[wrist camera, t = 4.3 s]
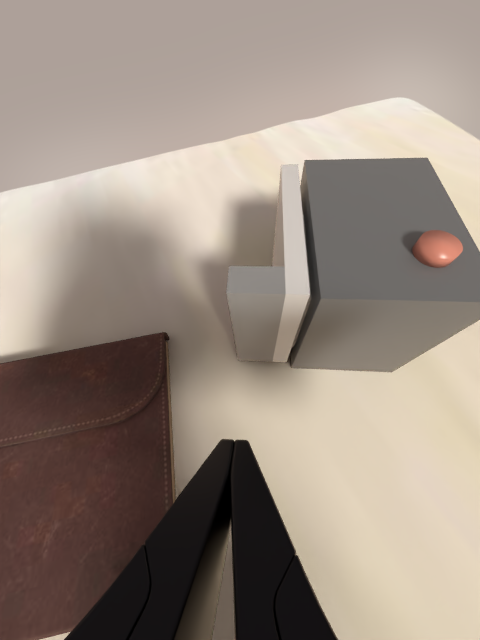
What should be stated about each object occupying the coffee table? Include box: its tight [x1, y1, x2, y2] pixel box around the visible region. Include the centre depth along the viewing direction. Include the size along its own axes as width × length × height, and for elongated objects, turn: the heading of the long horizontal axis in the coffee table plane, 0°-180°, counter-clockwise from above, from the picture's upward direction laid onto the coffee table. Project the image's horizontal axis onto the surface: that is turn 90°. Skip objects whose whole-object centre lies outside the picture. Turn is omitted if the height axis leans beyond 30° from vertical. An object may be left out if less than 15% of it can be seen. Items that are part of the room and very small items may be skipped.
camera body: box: [291, 158, 480, 372], centre depth 16 cm, size 11×7×10 cm, turn 176°
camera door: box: [226, 164, 310, 362], centre depth 16 cm, size 10×4×8 cm, turn 176°
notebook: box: [0, 332, 176, 640], centre depth 15 cm, size 15×20×2 cm
